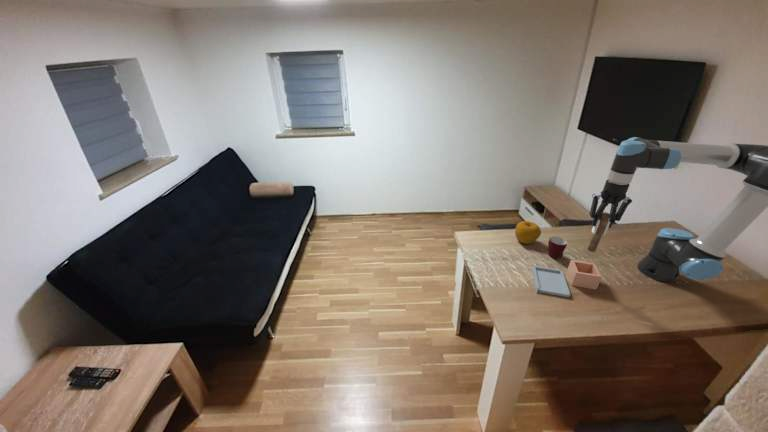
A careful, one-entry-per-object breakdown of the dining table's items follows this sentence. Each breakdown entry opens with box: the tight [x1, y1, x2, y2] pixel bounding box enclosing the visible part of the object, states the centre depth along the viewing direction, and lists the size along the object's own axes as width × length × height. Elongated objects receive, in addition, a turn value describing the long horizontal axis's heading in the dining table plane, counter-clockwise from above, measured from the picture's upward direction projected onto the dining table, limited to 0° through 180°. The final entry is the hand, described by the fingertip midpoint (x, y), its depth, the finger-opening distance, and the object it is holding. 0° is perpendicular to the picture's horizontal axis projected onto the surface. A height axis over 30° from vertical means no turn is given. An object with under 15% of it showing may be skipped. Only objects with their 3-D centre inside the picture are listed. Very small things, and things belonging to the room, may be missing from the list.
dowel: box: [587, 211, 610, 253], centre depth 127 cm, size 3×3×18 cm
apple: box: [514, 220, 542, 245], centre depth 168 cm, size 13×13×11 cm
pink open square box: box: [566, 259, 602, 290], centre depth 138 cm, size 10×10×8 cm
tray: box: [531, 265, 572, 298], centre depth 139 cm, size 18×13×2 cm
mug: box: [547, 236, 568, 259], centre depth 154 cm, size 10×8×10 cm
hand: (598, 233), depth 127 cm, fingers closed on dowel, 3 cm apart
